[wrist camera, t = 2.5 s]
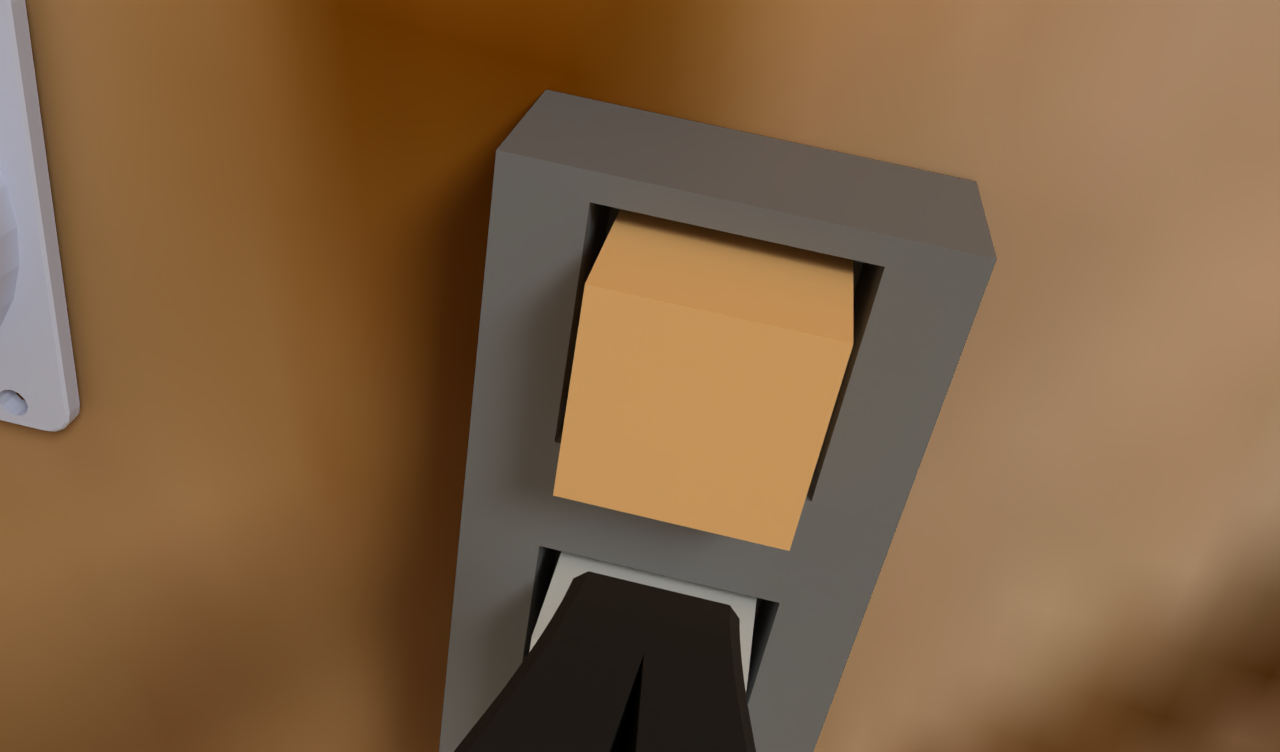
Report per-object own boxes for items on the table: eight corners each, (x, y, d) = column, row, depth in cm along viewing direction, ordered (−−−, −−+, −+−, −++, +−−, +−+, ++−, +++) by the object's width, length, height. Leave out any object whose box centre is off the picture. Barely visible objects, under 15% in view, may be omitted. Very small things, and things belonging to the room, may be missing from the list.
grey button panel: (463, 793, 23) (425, 900, 21) (545, 89, 15) (496, 150, 13) (739, 863, 23) (728, 979, 21) (976, 181, 15) (996, 258, 13)
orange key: (591, 394, 16) (552, 494, 14) (623, 202, 14) (584, 284, 12) (797, 442, 16) (789, 551, 14) (853, 253, 14) (854, 343, 12)
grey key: (547, 662, 19) (510, 777, 17) (569, 527, 17) (531, 637, 15) (721, 704, 18) (704, 826, 16) (759, 572, 17) (746, 690, 15)
